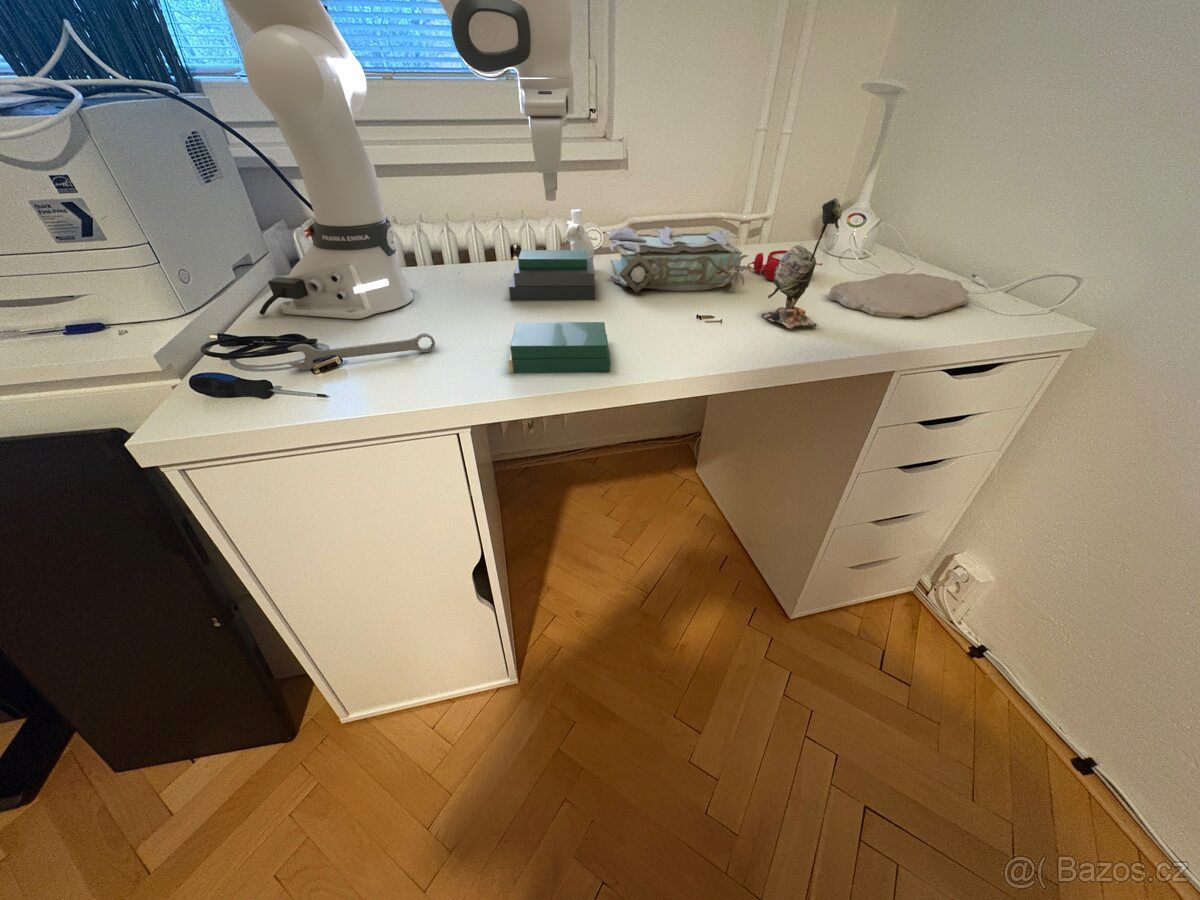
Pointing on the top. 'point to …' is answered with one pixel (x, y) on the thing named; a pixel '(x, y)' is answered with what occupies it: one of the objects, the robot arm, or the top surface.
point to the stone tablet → (901, 295)
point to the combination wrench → (357, 350)
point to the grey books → (553, 284)
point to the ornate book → (675, 260)
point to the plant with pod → (799, 274)
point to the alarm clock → (769, 263)
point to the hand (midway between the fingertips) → (551, 195)
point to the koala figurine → (578, 235)
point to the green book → (552, 260)
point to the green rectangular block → (559, 347)
